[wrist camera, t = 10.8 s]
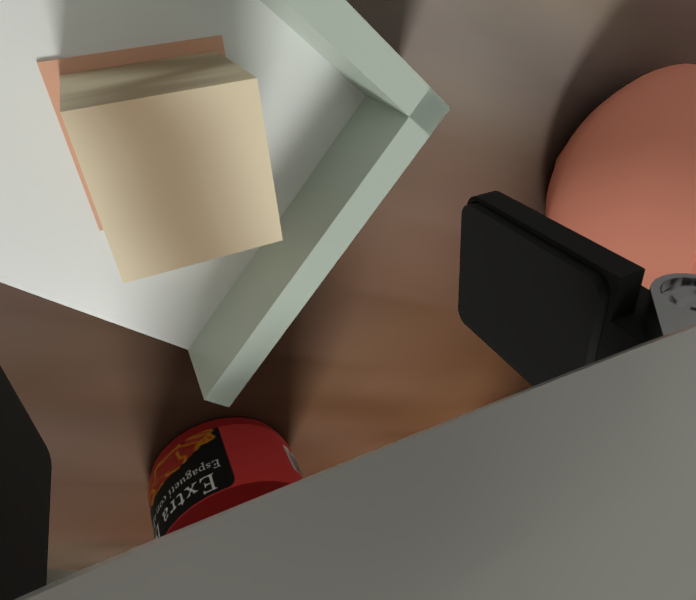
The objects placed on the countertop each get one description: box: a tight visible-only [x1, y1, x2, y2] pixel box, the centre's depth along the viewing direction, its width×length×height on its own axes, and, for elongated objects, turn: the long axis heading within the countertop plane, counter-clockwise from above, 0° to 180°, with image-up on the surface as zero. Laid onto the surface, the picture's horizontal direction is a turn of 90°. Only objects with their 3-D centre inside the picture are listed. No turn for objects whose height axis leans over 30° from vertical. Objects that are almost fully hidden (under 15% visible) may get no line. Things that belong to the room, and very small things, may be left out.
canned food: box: [148, 417, 303, 539], centre depth 26 cm, size 8×8×11 cm
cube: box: [59, 51, 283, 283], centre depth 17 cm, size 5×5×5 cm
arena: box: [0, 0, 450, 407], centre depth 17 cm, size 18×14×4 cm
